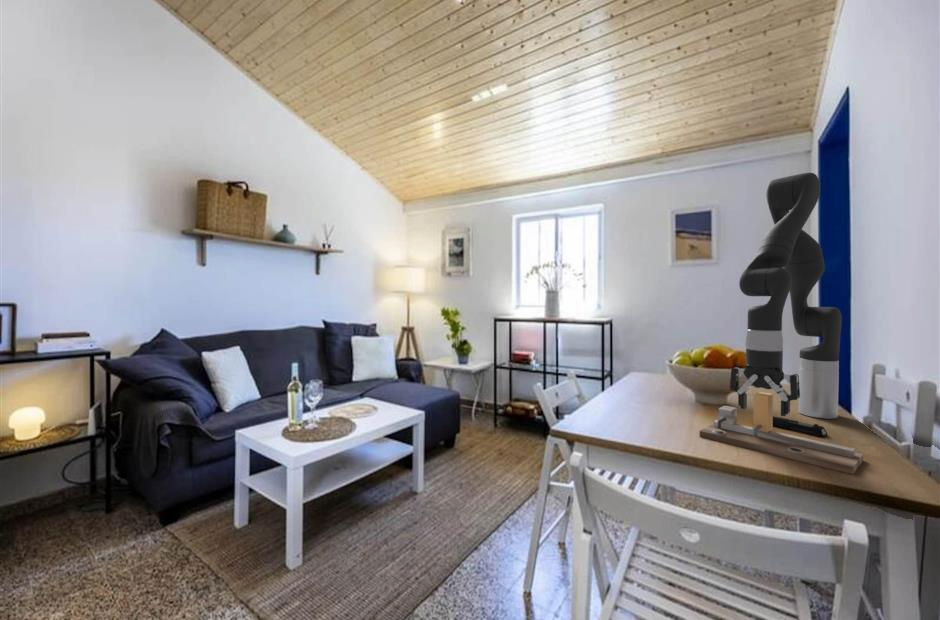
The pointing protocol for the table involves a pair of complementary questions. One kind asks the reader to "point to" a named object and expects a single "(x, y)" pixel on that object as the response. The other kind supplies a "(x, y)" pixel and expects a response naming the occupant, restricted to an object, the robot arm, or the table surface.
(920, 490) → the table surface
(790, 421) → the electric trimmer
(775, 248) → the robot arm
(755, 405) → the block
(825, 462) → the bolt plate
